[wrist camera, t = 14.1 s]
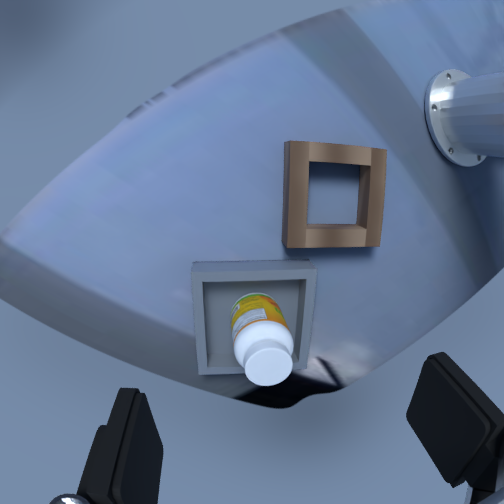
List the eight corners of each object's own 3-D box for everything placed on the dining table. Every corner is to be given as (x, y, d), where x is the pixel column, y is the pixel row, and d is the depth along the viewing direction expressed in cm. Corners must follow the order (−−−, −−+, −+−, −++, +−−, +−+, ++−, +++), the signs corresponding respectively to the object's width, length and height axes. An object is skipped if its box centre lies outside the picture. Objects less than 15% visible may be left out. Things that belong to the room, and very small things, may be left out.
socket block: (375, 149, 30) (386, 149, 28) (369, 240, 33) (379, 246, 31) (284, 142, 29) (290, 140, 27) (281, 241, 32) (287, 248, 30)
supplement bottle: (285, 325, 34) (308, 379, 25) (240, 341, 34) (249, 399, 25) (271, 283, 33) (292, 331, 23) (222, 301, 33) (226, 354, 23)
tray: (308, 259, 33) (317, 268, 30) (300, 353, 36) (306, 368, 34) (193, 261, 32) (191, 272, 29) (199, 359, 35) (198, 374, 32)
